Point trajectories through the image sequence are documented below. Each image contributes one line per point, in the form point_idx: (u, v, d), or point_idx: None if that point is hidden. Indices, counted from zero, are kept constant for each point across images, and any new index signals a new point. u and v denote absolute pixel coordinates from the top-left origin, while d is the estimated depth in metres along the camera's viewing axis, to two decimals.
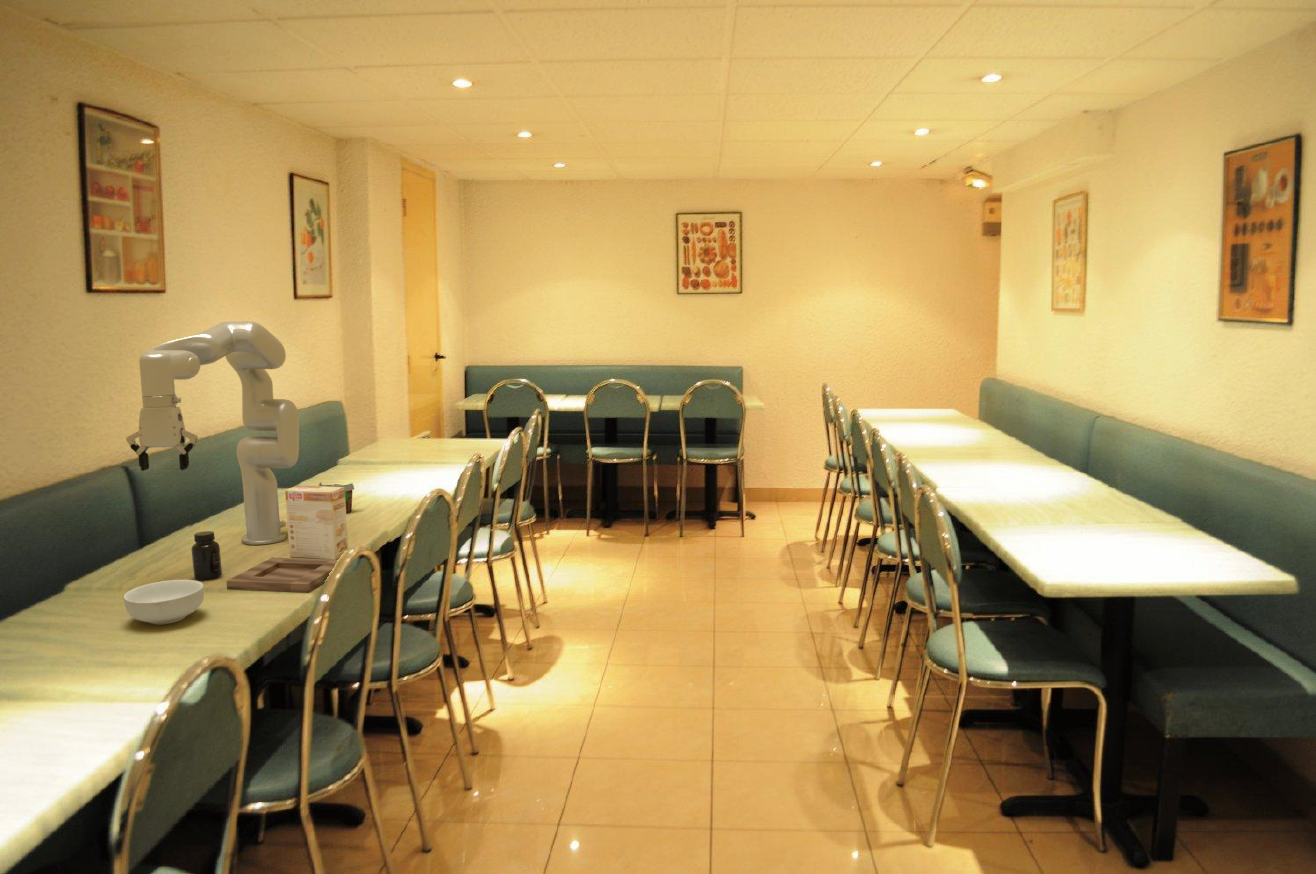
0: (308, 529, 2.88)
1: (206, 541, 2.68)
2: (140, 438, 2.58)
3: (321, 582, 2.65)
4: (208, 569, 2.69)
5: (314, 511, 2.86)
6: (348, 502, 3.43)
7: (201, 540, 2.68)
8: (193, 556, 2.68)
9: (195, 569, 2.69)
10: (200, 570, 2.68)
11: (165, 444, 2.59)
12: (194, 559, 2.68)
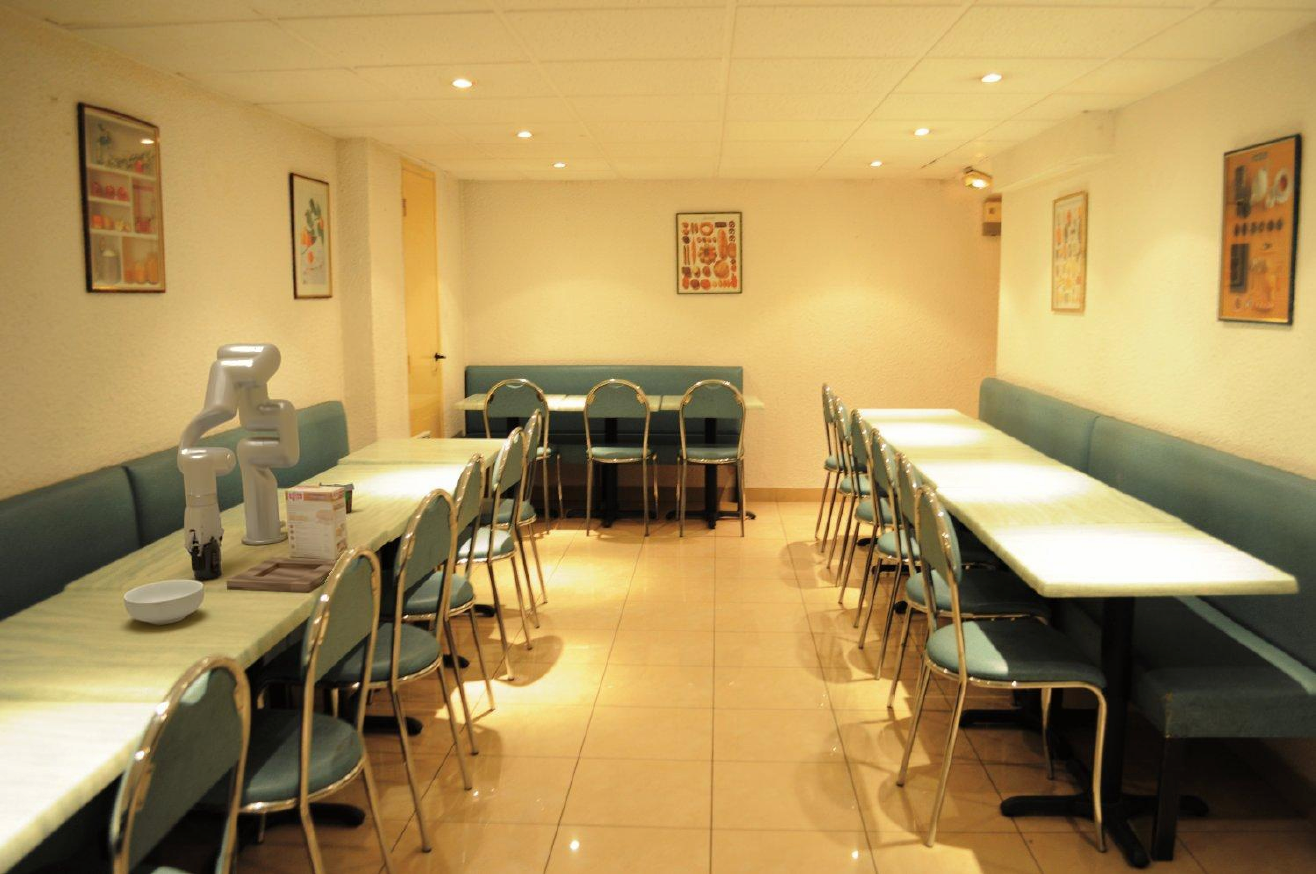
0: (308, 529, 2.88)
1: None
2: (201, 537, 2.65)
3: (321, 582, 2.65)
4: (208, 569, 2.69)
5: (314, 512, 2.86)
6: (348, 502, 3.43)
7: None
8: None
9: None
10: None
11: (215, 537, 2.71)
12: None
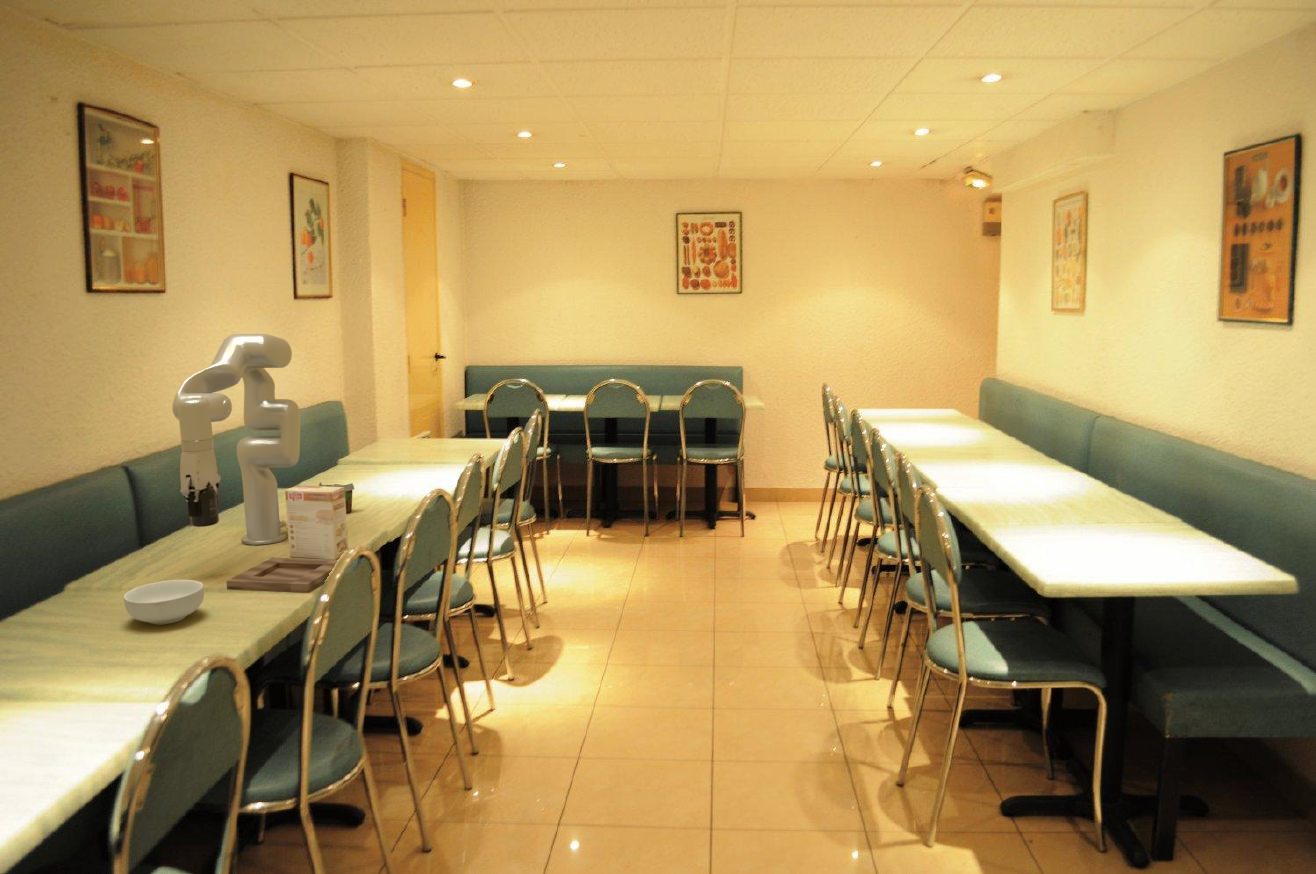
0: (308, 529, 2.88)
1: None
2: (197, 482, 2.64)
3: (321, 582, 2.65)
4: (205, 515, 2.67)
5: (314, 511, 2.86)
6: (348, 502, 3.43)
7: None
8: None
9: None
10: None
11: (212, 483, 2.70)
12: None
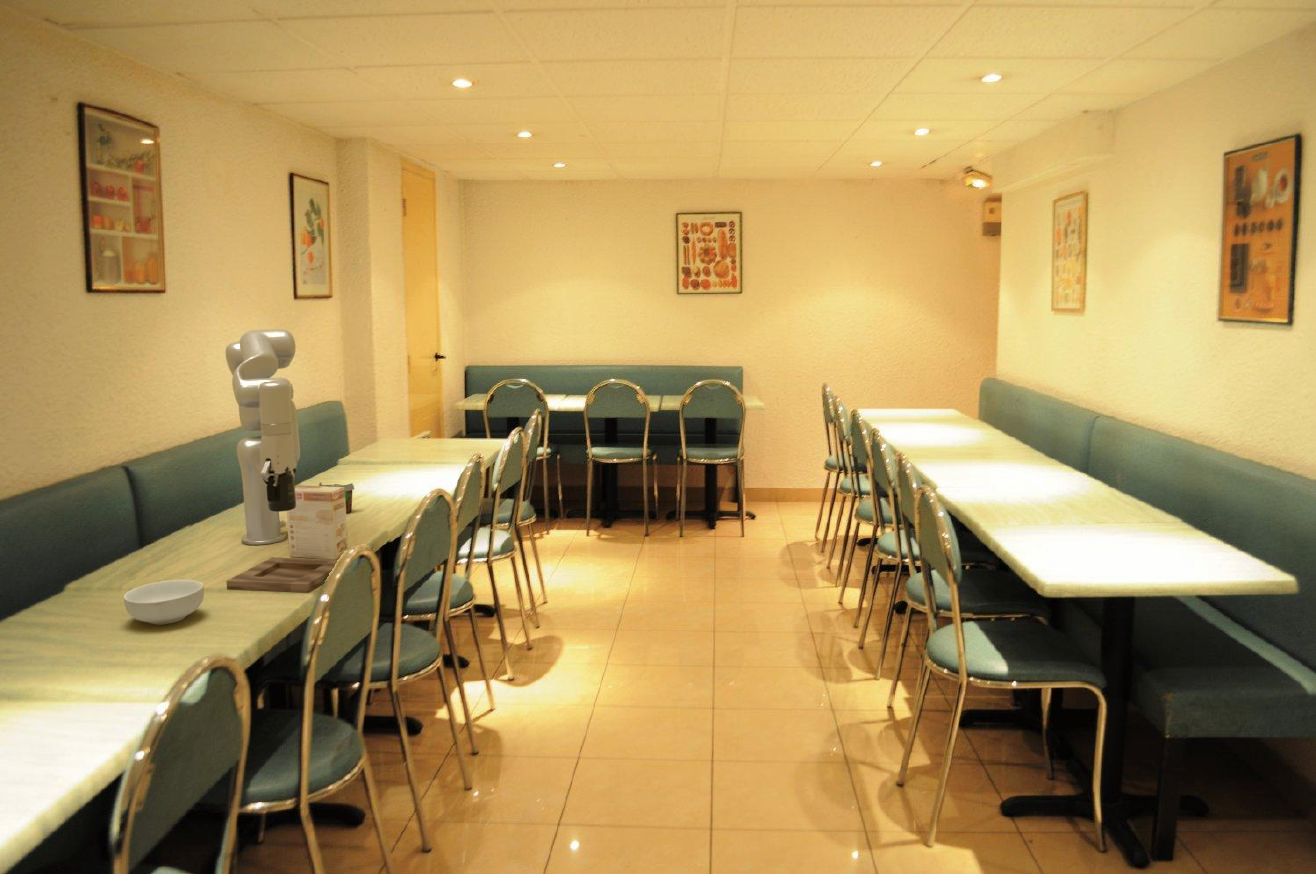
0: (308, 529, 2.88)
1: None
2: (277, 466, 2.61)
3: (321, 582, 2.65)
4: (283, 500, 2.64)
5: (314, 511, 2.86)
6: (348, 502, 3.43)
7: None
8: None
9: None
10: (275, 501, 2.64)
11: (290, 468, 2.67)
12: None
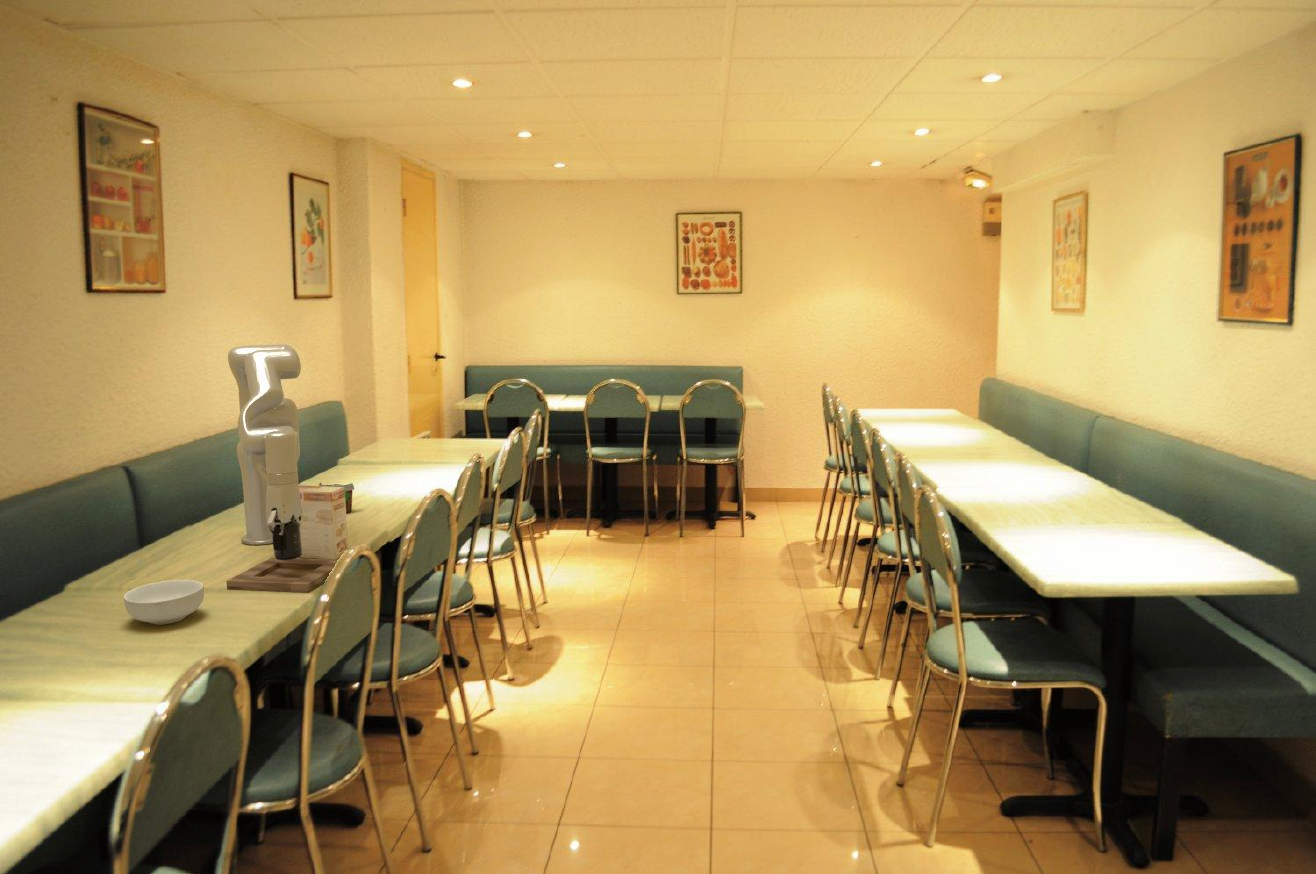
0: (308, 529, 2.88)
1: None
2: (283, 516, 2.63)
3: (321, 582, 2.65)
4: (289, 549, 2.66)
5: (314, 511, 2.86)
6: (348, 502, 3.43)
7: None
8: None
9: None
10: (281, 550, 2.66)
11: (295, 516, 2.69)
12: None
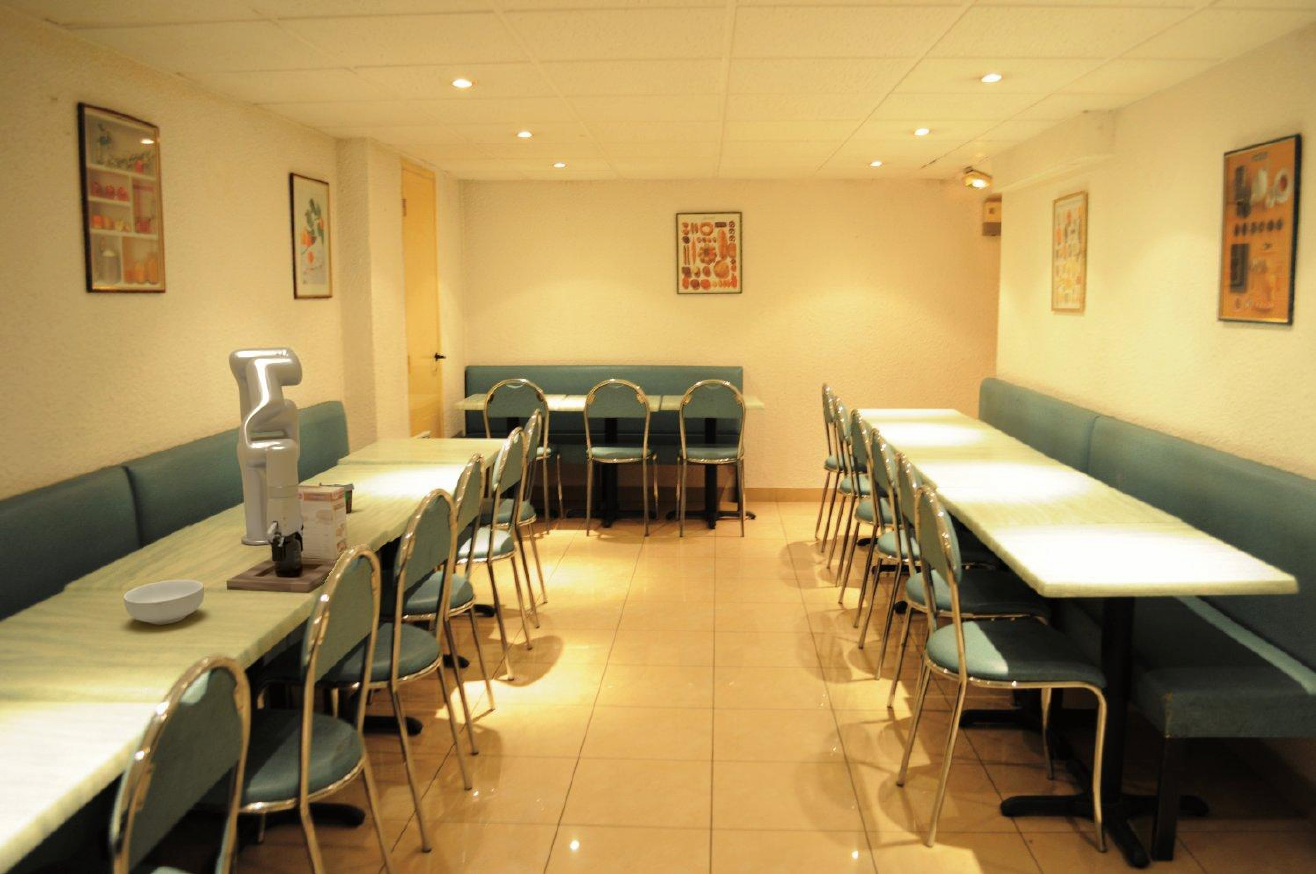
0: (308, 529, 2.88)
1: (287, 538, 2.67)
2: (284, 529, 2.63)
3: (321, 582, 2.65)
4: (290, 567, 2.67)
5: (314, 511, 2.86)
6: (348, 502, 3.43)
7: None
8: None
9: (277, 566, 2.67)
10: (281, 568, 2.67)
11: (296, 529, 2.70)
12: None
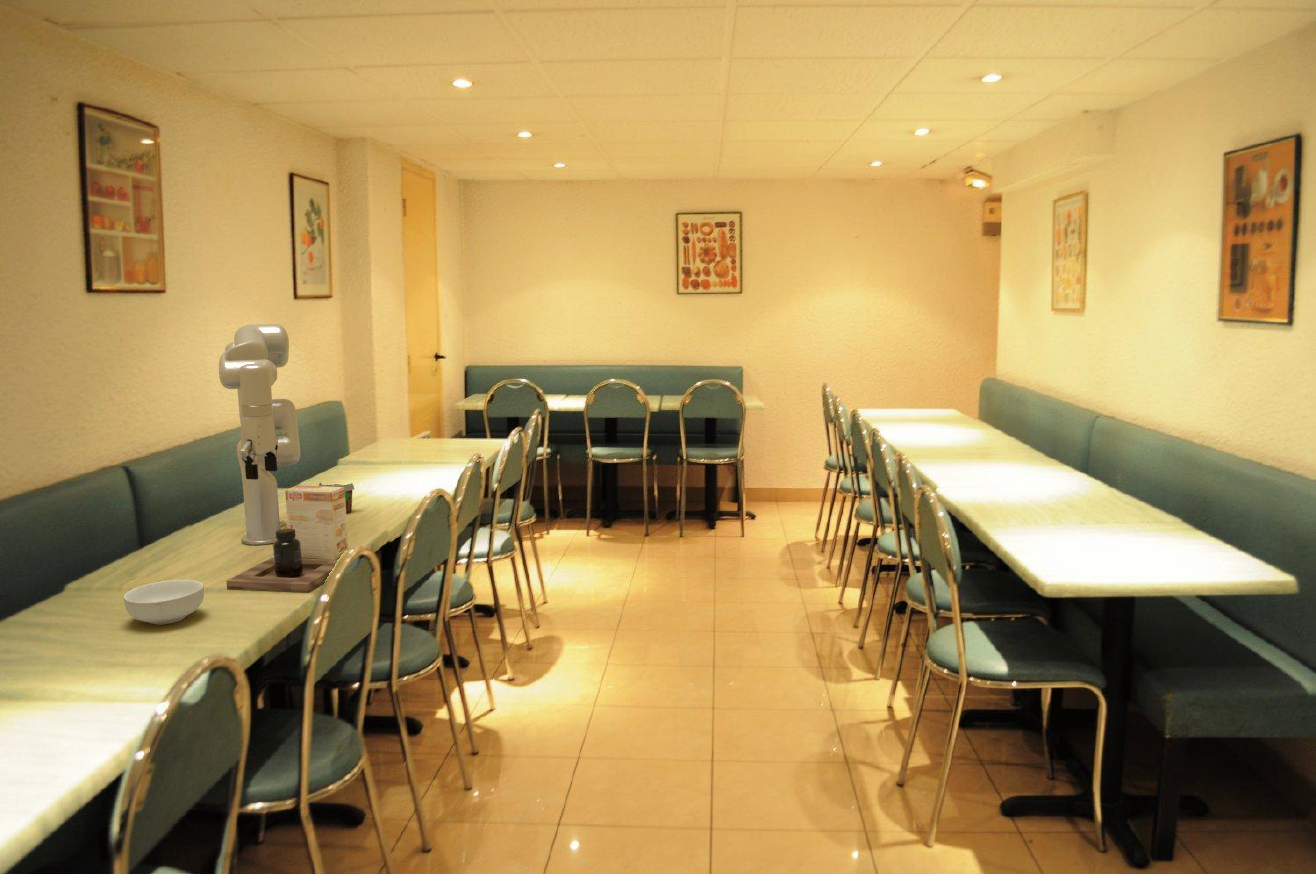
0: (308, 529, 2.88)
1: (288, 538, 2.67)
2: (258, 447, 2.67)
3: (321, 582, 2.65)
4: (290, 567, 2.67)
5: (314, 512, 2.86)
6: (348, 502, 3.43)
7: (283, 537, 2.66)
8: (275, 553, 2.67)
9: (277, 566, 2.67)
10: (281, 568, 2.67)
11: (270, 449, 2.73)
12: (276, 556, 2.67)
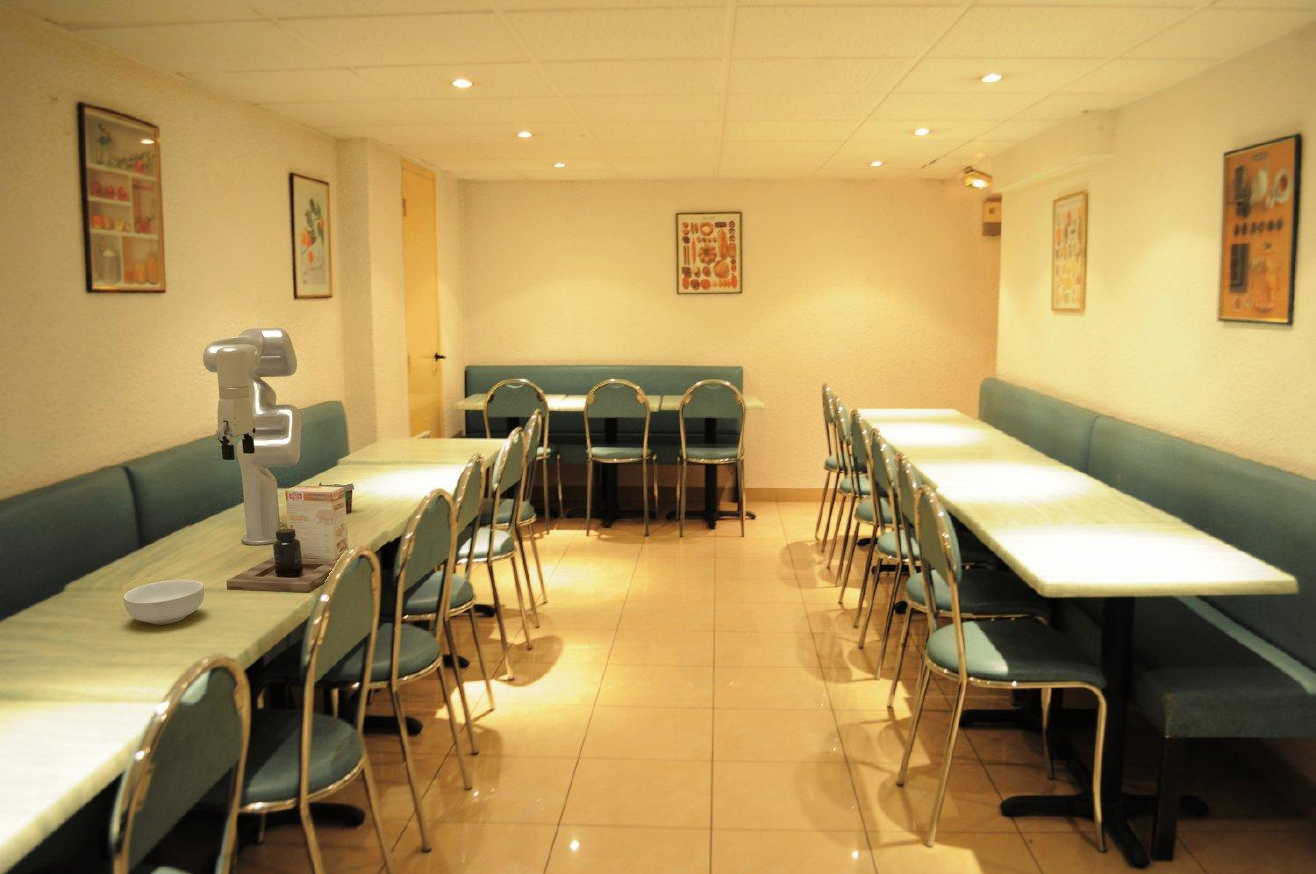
0: (308, 529, 2.88)
1: (288, 538, 2.67)
2: (234, 428, 2.72)
3: (321, 582, 2.65)
4: (290, 567, 2.67)
5: (314, 511, 2.86)
6: (348, 502, 3.43)
7: (283, 537, 2.66)
8: (275, 553, 2.67)
9: (277, 566, 2.67)
10: (281, 568, 2.67)
11: (247, 431, 2.78)
12: (276, 556, 2.67)
